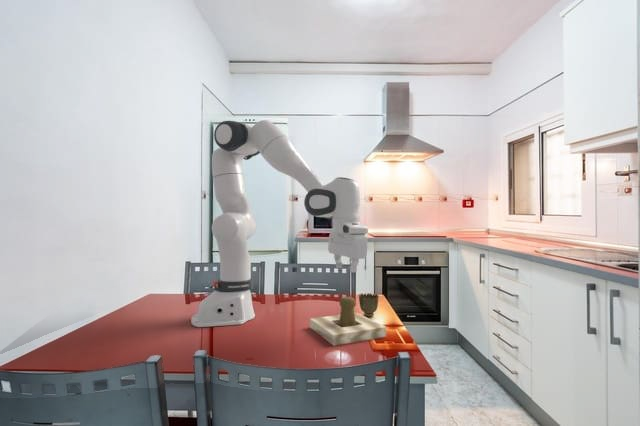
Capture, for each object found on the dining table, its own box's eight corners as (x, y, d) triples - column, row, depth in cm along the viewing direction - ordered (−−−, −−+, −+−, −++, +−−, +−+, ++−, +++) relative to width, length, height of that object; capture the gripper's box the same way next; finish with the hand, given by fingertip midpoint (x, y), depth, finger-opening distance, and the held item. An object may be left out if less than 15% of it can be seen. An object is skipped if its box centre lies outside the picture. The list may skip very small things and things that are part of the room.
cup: (378, 319, 121) (378, 297, 121) (358, 318, 122) (357, 296, 123) (379, 314, 128) (378, 293, 128) (359, 313, 130) (359, 292, 130)
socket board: (333, 345, 96) (333, 335, 96) (310, 327, 112) (310, 318, 113) (385, 336, 103) (385, 327, 103) (356, 320, 120) (356, 312, 120)
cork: (344, 335, 104) (344, 300, 105) (334, 330, 109) (334, 296, 110) (360, 332, 107) (360, 298, 107) (350, 327, 112) (349, 294, 113)
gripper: (324, 226, 117) (323, 266, 117) (352, 228, 98) (352, 275, 98) (340, 226, 119) (339, 265, 119) (371, 228, 101) (370, 274, 100)
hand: (345, 269), depth 108 cm, fingers open, 8 cm apart
